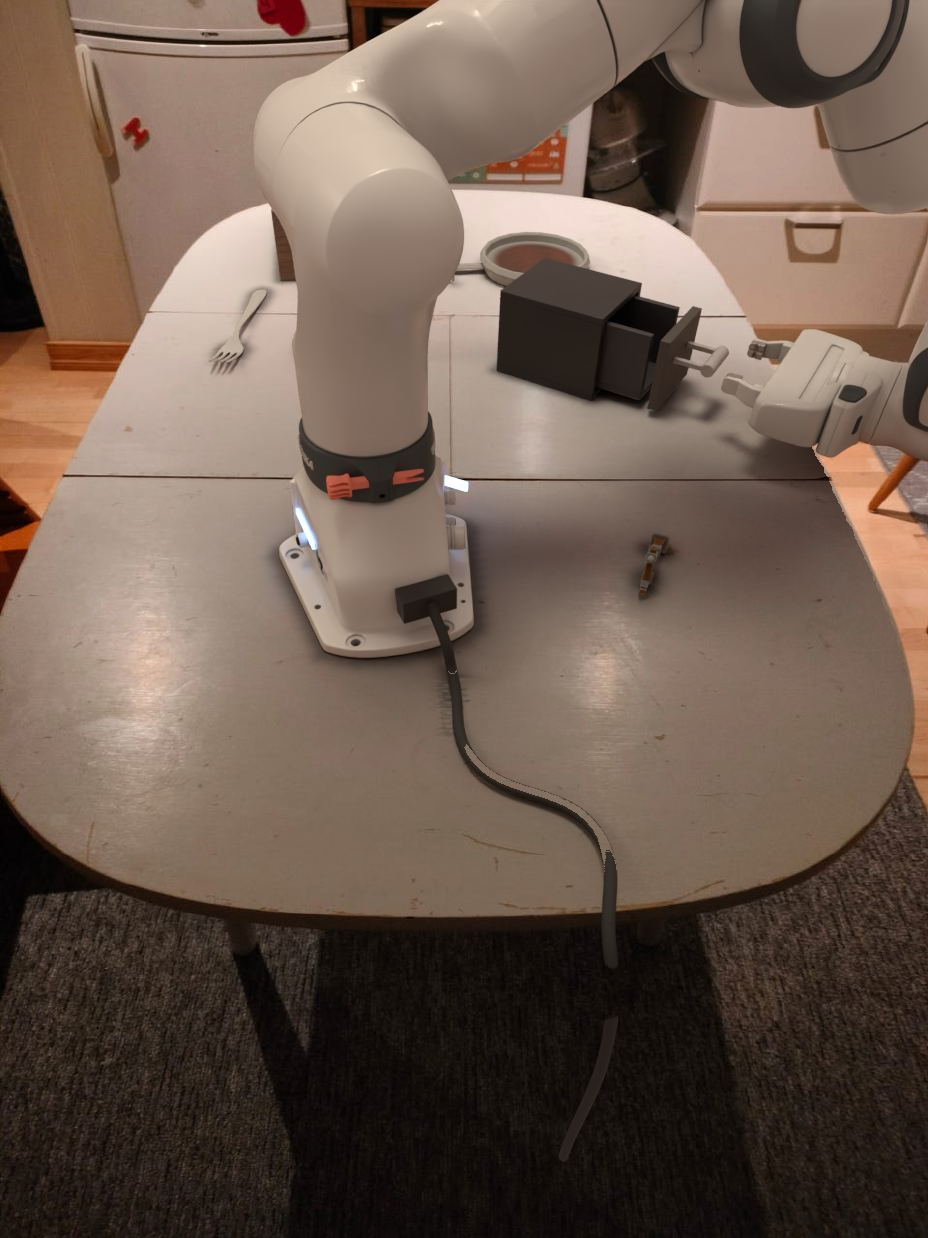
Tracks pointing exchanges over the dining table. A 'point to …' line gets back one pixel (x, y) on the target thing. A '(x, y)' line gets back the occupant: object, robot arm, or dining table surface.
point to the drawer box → (558, 324)
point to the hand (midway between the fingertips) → (737, 363)
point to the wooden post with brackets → (653, 558)
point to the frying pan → (525, 254)
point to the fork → (234, 343)
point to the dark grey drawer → (651, 350)
